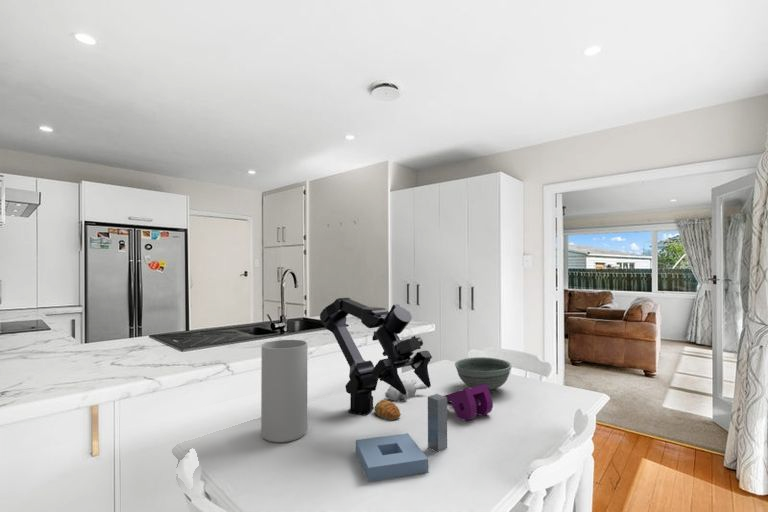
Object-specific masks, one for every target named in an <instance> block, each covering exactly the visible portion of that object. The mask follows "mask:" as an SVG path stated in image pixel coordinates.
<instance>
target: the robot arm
mask: <svg viewBox="0 0 768 512" xmlns="http://www.w3.org/2000/svg"><path fill="white" fill-rule="evenodd" d="M349 315H351V316H352V317H355V318H357V319H359V320H361V324H363V325H364V326H365V327H366V328H368V329H375V328H376V329H377V330H374V331H373V335H372V337H371V338H372V341H375V342H376V341H378V342H379V344H380V346H381V348H382V350H383V351H382V356H383V357H387V358H382V359H379V360H378V362H377V363H376V364H375V365H374V363H373V361H372V360H365V359H364V358H363V357H362V354H361V352H360V351H359V348H358V346H357V345H356V343H355V341H354V339H353V337H352V336H351V333H350V332H349V330H348V327H347V326H346V325H347V316H349ZM412 317H413V316H412V314H411V312H410V311H408V310H407V309H406V308H404V307H402V306H401V305H400V304H399V303H396V304H393V305H392V306H391V307H390V310H389V311H388V309H386V308H384V307H375V306H373V307H372V306H367V305H366V304H363V303H360V302H358V301H356V300H353V299H352V298H349V297H338V298H336V299H335V300H334V301H333V302H332V303H330V304H329V305H327V306H325V308H323V309H322V311H321V312H320V315H319V319H320V322H321V324H323V327H324V328H325V329H326V330H327V331H329V332H330V333H332V334H333V336H334V338H335V340H336V343H337V344H338V346H339V348H340V350H341V352H342V354H343V356H344V358H345V360H346V362H347V364H348V366H349V375H348V377H349V380H348V382H347V383H346V384H345V392H346V393H347V394H349V395H350V408H349V409H348V410H347V413H349V414H355V415H362V416H367V415H368V414H369V413H370V412H372V411H373V410H374V408H375V406H374V396H373V393H372V392H375V391H376V390H377V386H378V381H380V382H384V383H386V384H387V385H389V386H392V387H393V388H395V389H396V390H398V391H399V392H400V393H402V394H403V395H406V393H407V392H406V389H405V387H404V385H403V383H402V381H403V380H402V379H401V377H400V376H399V373H398V372H399V371H398V369H401V368H405V367H411V369H413V373H414V374H415V375H416V376H417V377H418V378H419V380H420V381H421V382H422V384H425V385H426V386H427V388H428V389H430V388H431V387H432V385H431V380H430V375H429V369H428V365H429V363H430V362H431V359H432V358H433V356H432V354H431V353H430V351H429V350H422V351H417V352H416V353H415V354H414V351H416V350H420V349H421V347H422V346H423V345H424V342H423V339H422V337H421V336H420V335H419V334H416V335H413V336H411V338H407V339H400V337H399V335H400V334H401V333H402V332H403V331H404V330H405V329H406V328H407V326H408V325H409V323H410V322H411V321H412ZM413 355H414V356H413ZM411 356H413V357H411Z"/></svg>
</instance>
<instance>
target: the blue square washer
mask: <svg viewBox="0 0 768 512" xmlns="http://www.w3.org/2000/svg"><path fill="white" fill-rule="evenodd" d="M355 454H356V456H357V458H358V461H359V464H360V465H361V469H362V470H363V473H364V475H365V477H366V480H367V482H370V483H371V482H376V481H381V480H388V479H394V478H401V477H407V476H406V475H408V476H413V475H412V474H414V475H418V474H417V473H420V474H424V473H423V472H427V473H429V458H428V457H427V456H426V454H425V452H424V451H422V449H421V448H420V447H419V446H418V444H417V443H416V441H415V440H414V439H413V438H412V436H411V435H410V434H409V433H408V432H407V433H400V434H392V435H385V436H384V435H383V436H377V437H376V436H375V437H370V438H361V439H355ZM400 476H401V477H400Z"/></svg>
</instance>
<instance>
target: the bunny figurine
mask: <svg viewBox="0 0 768 512" xmlns="http://www.w3.org/2000/svg"><path fill="white" fill-rule="evenodd" d="M401 381H402V383H403V385H404V387H405V389H406V392H407V393H406V395H403V394H402V393H400V392H399V391H398V390H396V389H395V388H393V387H392V386H391V385H389V387H388V388H387V391H386V392H384V394H385V396H384V397H385V398H386V399H390V400H391V401H395V402H399V401H398V400H400V401H401V400H407V399H411V398H413V397H414V396H415V394H416V393H417V390H426V389H427V388H428V387H427V386H426V385H425V384H424V383H422V384H417V382H418V381H417V380H414V379H413V380H409V381H408V380H401ZM416 384H417V385H416ZM410 397H411V398H410Z"/></svg>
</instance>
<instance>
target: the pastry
mask: <svg viewBox="0 0 768 512" xmlns="http://www.w3.org/2000/svg"><path fill="white" fill-rule="evenodd" d="M373 410H374V412H375V414H376V415H377V416H378V417H380V418H382V419H385V420H387V421H388V420H390V421H394V420H396V419H399V418H400V417H401V415H402V414H401V411H400V409H399V406H397V405H396V404H395V403H393V401H388V400H386V399H381V400H379V401H378V402H377V403H375V406H374V409H373Z"/></svg>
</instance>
